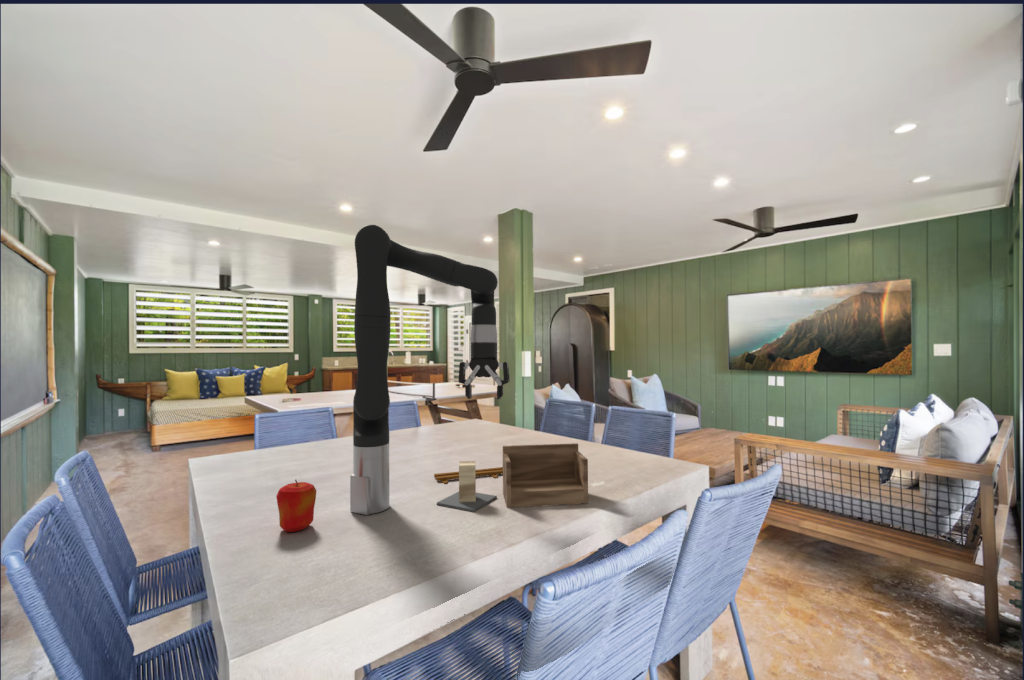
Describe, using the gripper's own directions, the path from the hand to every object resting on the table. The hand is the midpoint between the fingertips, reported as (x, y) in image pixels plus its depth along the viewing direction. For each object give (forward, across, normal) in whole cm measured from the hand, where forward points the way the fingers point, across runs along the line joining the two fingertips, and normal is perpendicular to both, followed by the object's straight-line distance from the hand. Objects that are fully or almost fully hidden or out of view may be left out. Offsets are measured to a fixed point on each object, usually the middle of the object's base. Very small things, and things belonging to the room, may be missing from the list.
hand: (484, 398), depth 124 cm
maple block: (+28, +4, +2) cm, 28 cm away
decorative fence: (+29, +9, -23) cm, 38 cm away
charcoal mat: (+28, +4, +2) cm, 29 cm away
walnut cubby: (+28, -16, -4) cm, 33 cm away
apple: (+29, +40, +26) cm, 55 cm away
